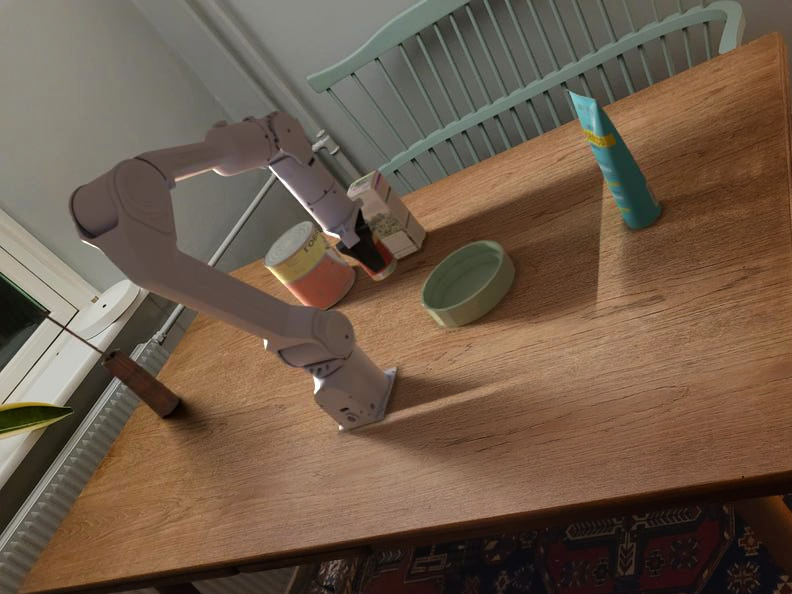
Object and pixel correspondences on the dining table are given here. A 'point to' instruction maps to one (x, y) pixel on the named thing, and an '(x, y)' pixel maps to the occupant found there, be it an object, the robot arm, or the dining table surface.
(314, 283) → the canned food
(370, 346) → the dining table surface
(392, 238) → the syrup box
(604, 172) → the tube
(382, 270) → the tin can
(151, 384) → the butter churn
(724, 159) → the dining table surface
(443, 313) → the bowl
